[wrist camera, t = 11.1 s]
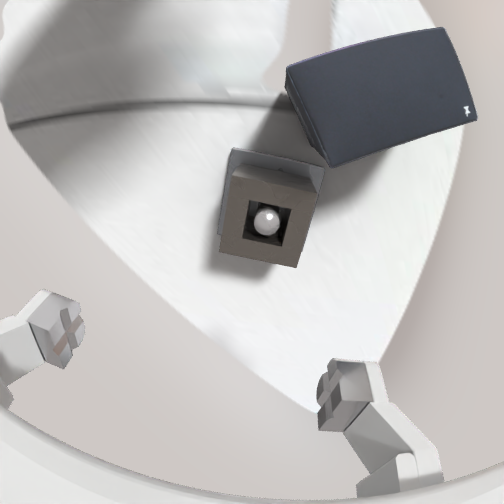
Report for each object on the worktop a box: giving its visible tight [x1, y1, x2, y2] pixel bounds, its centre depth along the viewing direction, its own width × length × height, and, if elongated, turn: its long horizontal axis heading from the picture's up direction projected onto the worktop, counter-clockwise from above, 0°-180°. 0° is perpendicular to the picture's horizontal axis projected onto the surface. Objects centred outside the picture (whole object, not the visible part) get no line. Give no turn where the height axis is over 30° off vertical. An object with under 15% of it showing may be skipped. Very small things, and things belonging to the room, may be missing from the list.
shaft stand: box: [218, 147, 325, 252], centre depth 24 cm, size 8×8×6 cm
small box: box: [285, 27, 478, 168], centre depth 17 cm, size 11×6×10 cm, turn 115°
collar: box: [219, 163, 318, 268], centre depth 23 cm, size 6×6×5 cm
